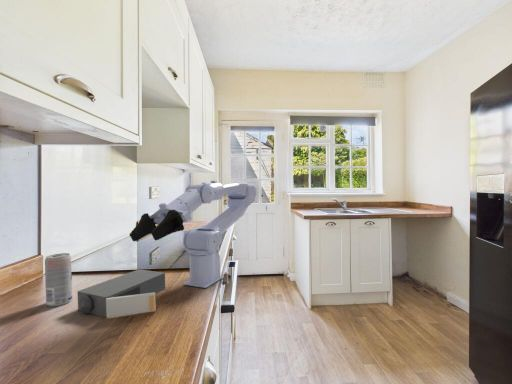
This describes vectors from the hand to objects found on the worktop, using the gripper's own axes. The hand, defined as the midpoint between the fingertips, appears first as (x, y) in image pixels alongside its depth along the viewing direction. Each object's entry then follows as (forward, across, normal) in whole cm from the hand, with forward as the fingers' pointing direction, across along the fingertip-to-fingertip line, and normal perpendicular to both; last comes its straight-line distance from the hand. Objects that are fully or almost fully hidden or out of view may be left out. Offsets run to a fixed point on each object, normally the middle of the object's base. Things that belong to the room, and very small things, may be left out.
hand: (142, 237), depth 60 cm
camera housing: (+4, -13, +16) cm, 21 cm away
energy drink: (+12, -26, +11) cm, 31 cm away
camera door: (+9, -3, +14) cm, 17 cm away
